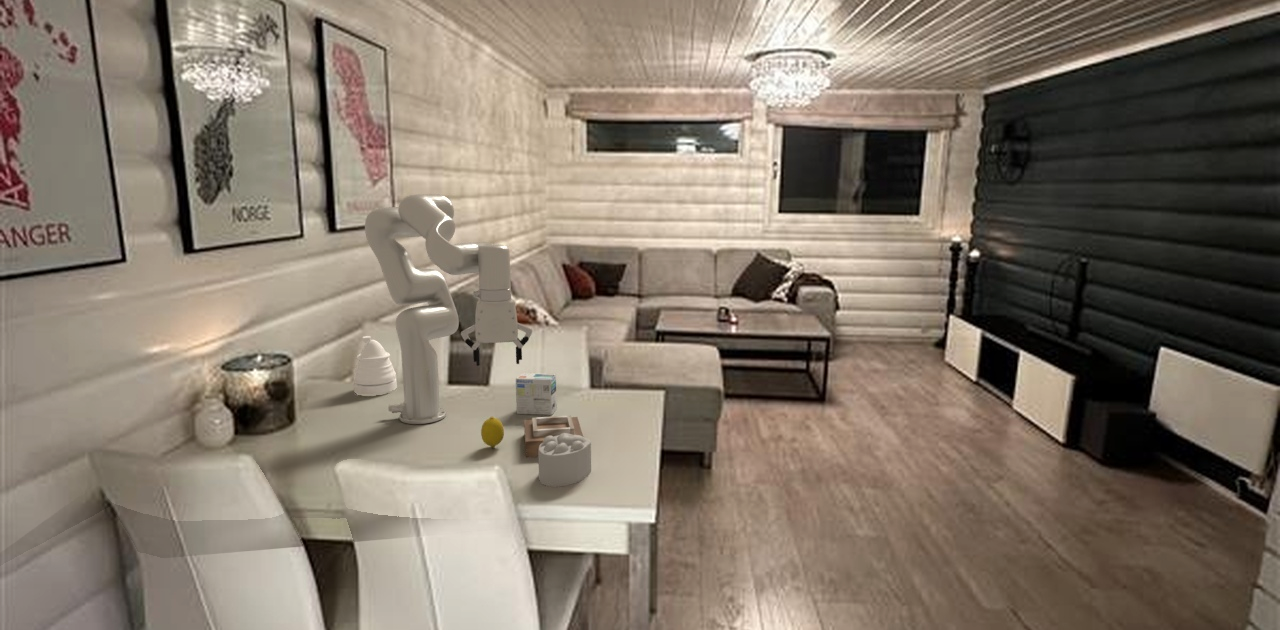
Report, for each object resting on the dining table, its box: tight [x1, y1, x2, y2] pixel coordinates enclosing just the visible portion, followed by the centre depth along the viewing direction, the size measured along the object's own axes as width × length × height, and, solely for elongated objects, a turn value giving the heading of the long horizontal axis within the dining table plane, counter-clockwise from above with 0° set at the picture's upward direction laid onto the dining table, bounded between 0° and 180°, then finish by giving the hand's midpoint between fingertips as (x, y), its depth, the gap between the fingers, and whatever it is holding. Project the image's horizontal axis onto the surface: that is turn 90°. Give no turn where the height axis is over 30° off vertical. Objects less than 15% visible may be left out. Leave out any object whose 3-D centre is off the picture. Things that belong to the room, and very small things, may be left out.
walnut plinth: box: [523, 415, 584, 458], centre depth 176 cm, size 14×16×6 cm
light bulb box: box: [515, 372, 558, 416], centre depth 201 cm, size 11×7×11 cm, turn 84°
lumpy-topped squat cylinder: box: [538, 433, 592, 488], centre depth 156 cm, size 10×13×9 cm
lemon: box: [480, 416, 505, 449], centre depth 173 cm, size 6×6×8 cm
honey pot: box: [353, 335, 398, 394], centre depth 220 cm, size 13×13×18 cm
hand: (498, 363), depth 172 cm, fingers open, 9 cm apart
